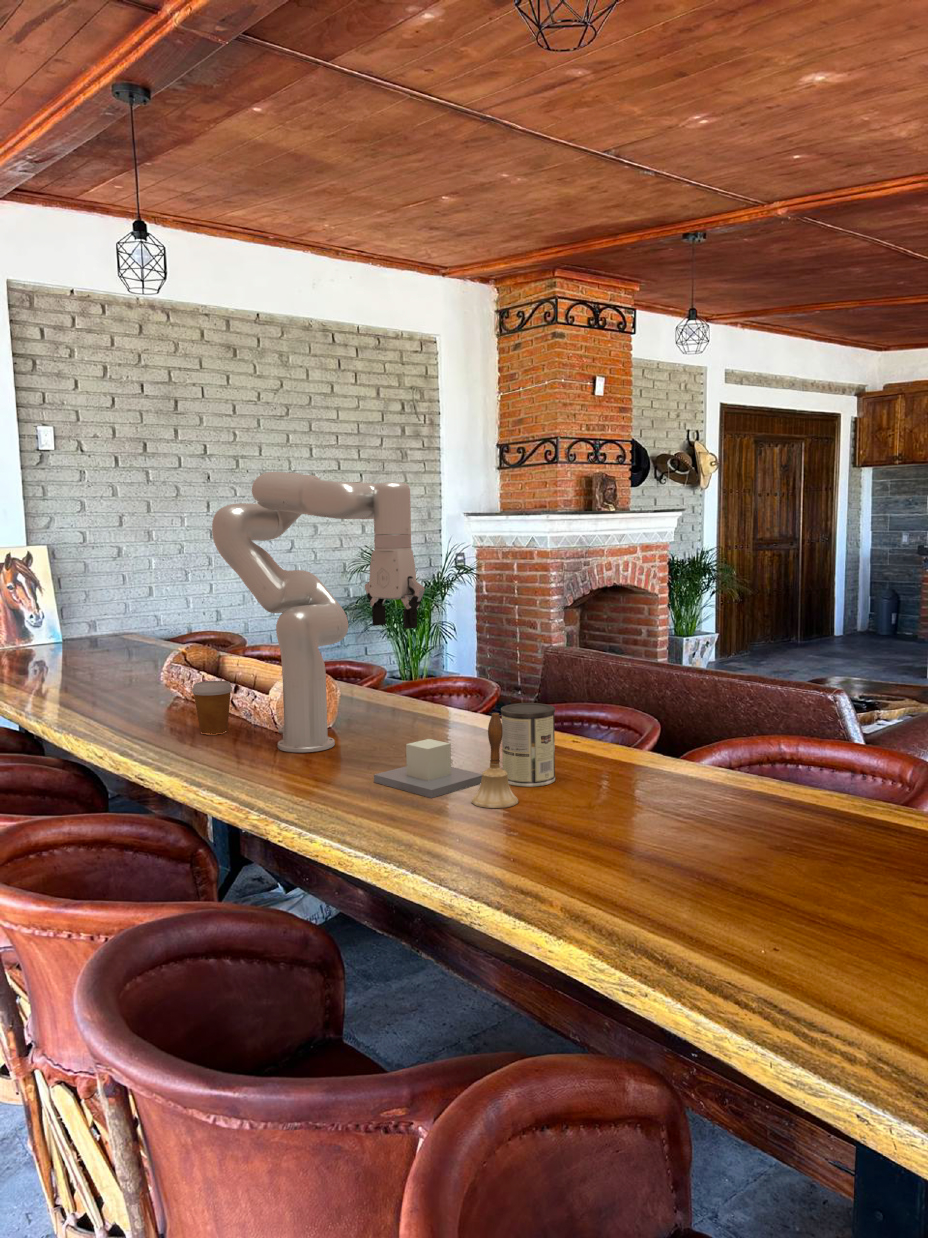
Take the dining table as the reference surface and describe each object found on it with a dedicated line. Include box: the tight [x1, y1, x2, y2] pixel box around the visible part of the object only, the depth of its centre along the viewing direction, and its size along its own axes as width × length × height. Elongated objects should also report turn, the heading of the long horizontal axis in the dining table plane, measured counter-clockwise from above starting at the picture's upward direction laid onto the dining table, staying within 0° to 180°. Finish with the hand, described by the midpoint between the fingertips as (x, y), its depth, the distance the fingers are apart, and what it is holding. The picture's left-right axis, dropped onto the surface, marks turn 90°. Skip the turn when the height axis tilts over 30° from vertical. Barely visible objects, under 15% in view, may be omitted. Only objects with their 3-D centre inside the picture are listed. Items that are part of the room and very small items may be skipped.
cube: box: [405, 738, 452, 781], centre depth 180 cm, size 6×6×6 cm
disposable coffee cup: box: [191, 680, 233, 734], centre depth 226 cm, size 10×10×12 cm
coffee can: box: [500, 702, 556, 788], centre depth 180 cm, size 10×10×14 cm
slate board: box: [373, 765, 482, 799], centre depth 180 cm, size 16×14×2 cm
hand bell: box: [471, 712, 519, 809], centre depth 166 cm, size 8×8×16 cm
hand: (394, 626), depth 194 cm, fingers open, 9 cm apart
